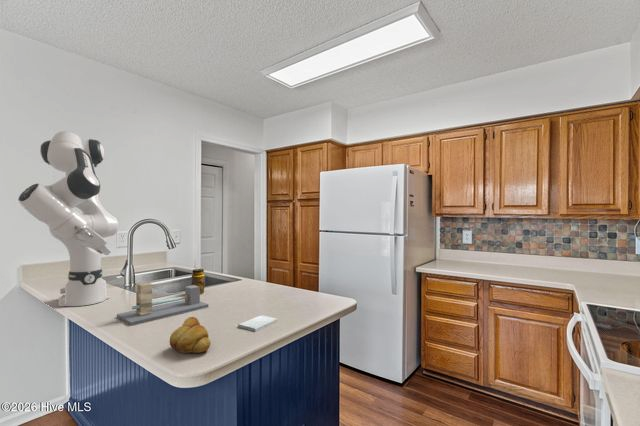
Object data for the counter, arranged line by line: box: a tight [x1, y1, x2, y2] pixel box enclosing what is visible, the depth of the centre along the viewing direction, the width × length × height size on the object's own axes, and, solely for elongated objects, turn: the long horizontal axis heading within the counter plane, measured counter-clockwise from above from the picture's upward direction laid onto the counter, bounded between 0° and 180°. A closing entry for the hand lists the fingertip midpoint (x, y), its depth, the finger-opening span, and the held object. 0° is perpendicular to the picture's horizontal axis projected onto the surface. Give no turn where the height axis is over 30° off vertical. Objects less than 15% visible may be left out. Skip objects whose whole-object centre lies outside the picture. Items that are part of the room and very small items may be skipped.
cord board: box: [116, 284, 209, 327], centre depth 127 cm, size 14×30×8 cm, turn 140°
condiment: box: [191, 268, 207, 296], centre depth 156 cm, size 7×8×12 cm
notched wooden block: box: [135, 281, 153, 315], centre depth 121 cm, size 4×4×11 cm
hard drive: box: [237, 314, 279, 332], centre depth 114 cm, size 2×8×12 cm
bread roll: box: [169, 316, 211, 354], centre depth 93 cm, size 13×10×8 cm
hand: (105, 253), depth 113 cm, fingers open, 5 cm apart
